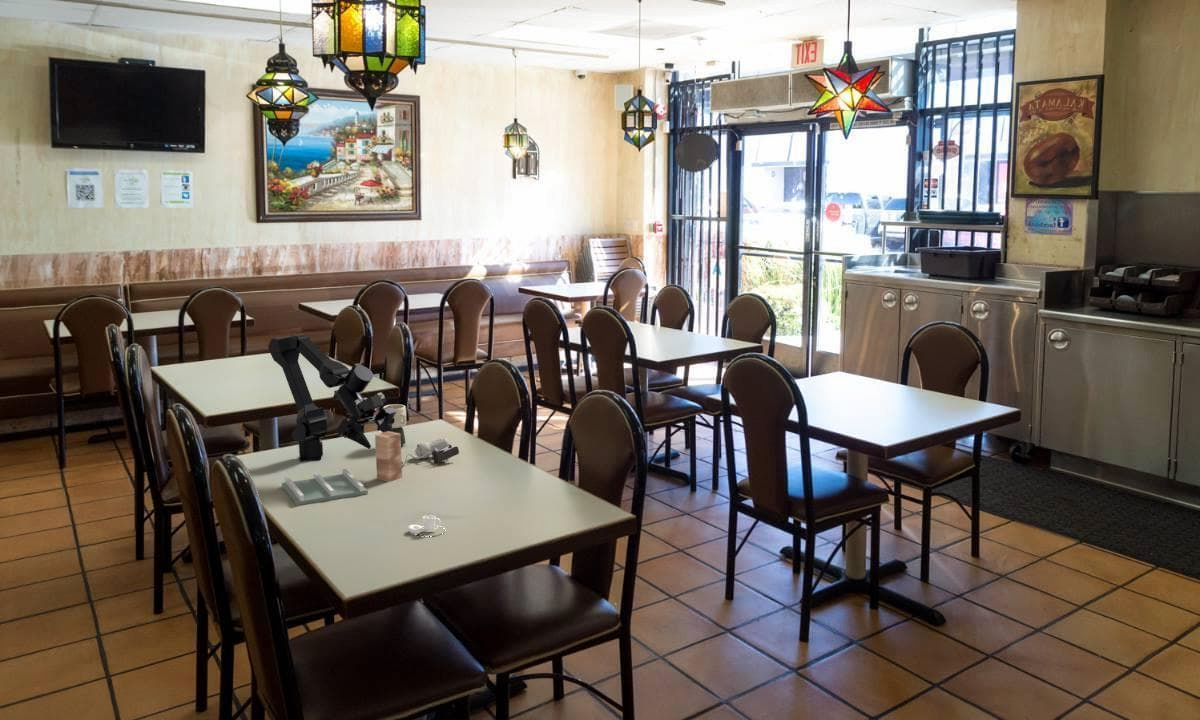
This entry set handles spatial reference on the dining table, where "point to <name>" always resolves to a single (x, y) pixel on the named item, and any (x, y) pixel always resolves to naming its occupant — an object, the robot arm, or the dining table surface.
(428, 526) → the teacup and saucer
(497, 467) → the dining table surface
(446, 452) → the clip-on lamp
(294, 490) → the slot board
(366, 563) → the dining table surface
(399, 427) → the character mug
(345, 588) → the dining table surface
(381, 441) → the plug block
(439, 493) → the dining table surface
